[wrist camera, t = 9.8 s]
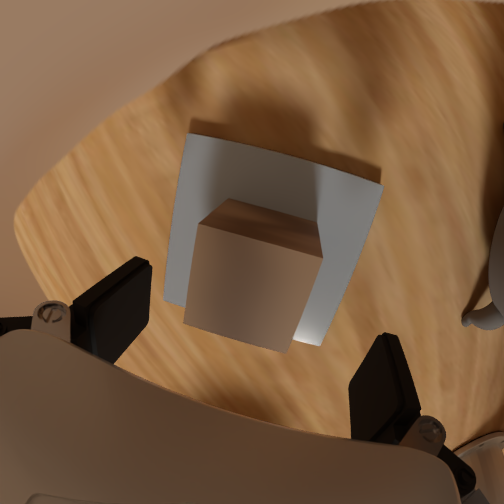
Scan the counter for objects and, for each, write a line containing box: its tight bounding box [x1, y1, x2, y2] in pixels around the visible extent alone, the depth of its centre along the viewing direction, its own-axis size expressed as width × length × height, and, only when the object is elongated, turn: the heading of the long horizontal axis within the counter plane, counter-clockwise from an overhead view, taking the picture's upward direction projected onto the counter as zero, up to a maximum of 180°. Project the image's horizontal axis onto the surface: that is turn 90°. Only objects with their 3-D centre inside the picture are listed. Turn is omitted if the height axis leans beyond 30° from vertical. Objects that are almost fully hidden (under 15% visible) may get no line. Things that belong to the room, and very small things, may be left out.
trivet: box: [163, 133, 384, 346], centre depth 17 cm, size 11×11×1 cm
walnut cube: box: [183, 198, 323, 353], centre depth 14 cm, size 5×5×5 cm
